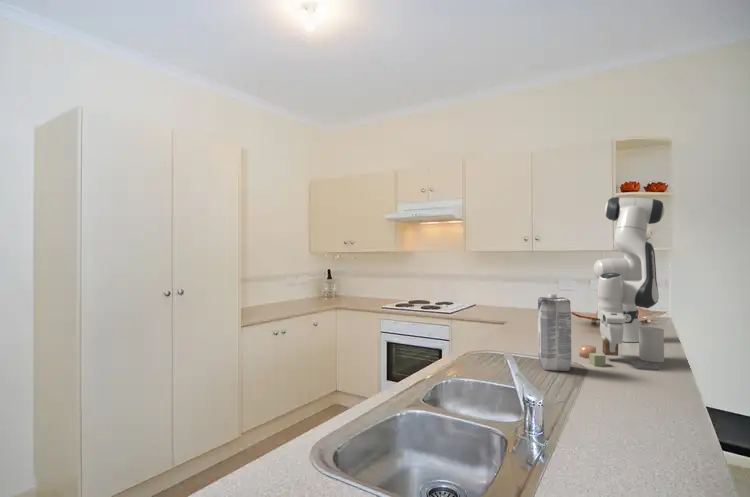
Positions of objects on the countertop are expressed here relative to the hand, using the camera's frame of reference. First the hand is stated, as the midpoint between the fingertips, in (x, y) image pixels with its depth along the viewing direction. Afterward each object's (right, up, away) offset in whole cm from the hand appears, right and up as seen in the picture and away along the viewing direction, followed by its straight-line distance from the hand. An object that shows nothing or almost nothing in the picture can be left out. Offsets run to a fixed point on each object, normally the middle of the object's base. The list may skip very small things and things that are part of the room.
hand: (610, 349), depth 164 cm
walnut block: (0, -2, 0) cm, 2 cm away
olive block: (-9, -4, -7) cm, 12 cm away
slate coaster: (+7, -4, -10) cm, 13 cm away
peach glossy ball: (-6, -4, +5) cm, 9 cm away
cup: (+16, -4, 0) cm, 17 cm away
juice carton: (-27, -4, -11) cm, 29 cm away
